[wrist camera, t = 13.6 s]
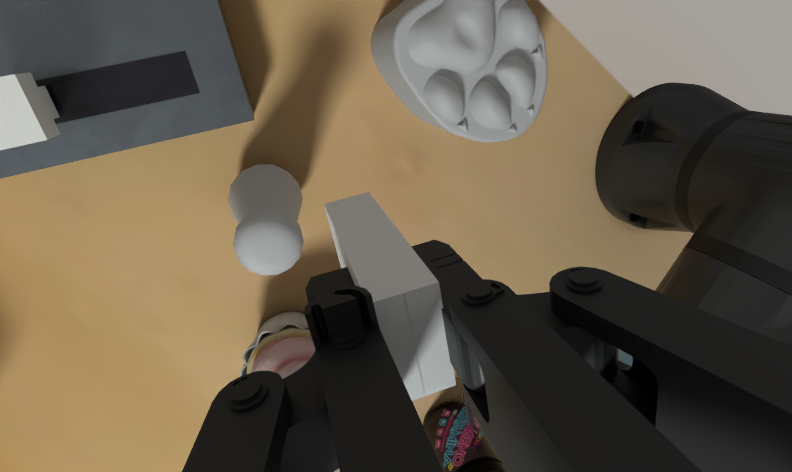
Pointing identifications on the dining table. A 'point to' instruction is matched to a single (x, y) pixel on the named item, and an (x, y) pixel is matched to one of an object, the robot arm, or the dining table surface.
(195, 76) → the panel
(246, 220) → the salt shaker
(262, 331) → the cupcake
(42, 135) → the breaker
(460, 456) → the supplement container
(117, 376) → the dining table surface
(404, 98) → the lumpy-topped squat cylinder
